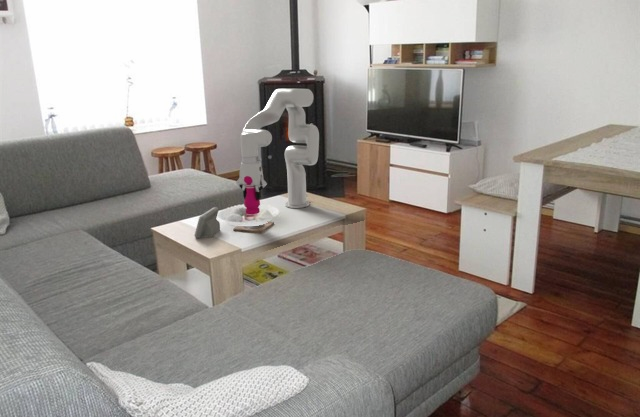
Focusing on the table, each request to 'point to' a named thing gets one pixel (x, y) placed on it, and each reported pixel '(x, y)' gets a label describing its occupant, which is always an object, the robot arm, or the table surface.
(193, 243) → the table surface
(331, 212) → the table surface
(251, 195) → the pepper mill
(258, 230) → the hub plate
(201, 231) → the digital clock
